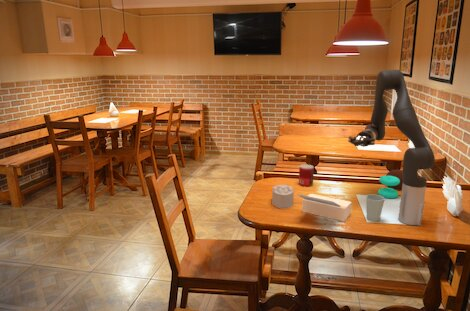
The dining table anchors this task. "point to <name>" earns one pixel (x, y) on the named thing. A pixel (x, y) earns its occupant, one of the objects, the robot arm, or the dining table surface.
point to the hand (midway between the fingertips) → (356, 143)
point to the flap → (319, 200)
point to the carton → (327, 208)
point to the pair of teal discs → (389, 182)
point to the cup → (374, 207)
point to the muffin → (399, 175)
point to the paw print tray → (282, 196)
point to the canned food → (306, 175)
